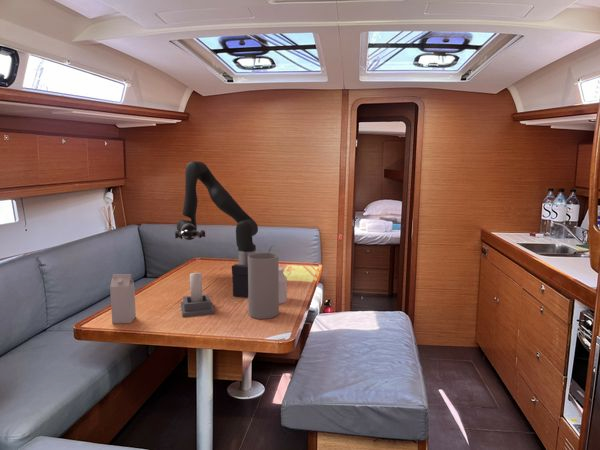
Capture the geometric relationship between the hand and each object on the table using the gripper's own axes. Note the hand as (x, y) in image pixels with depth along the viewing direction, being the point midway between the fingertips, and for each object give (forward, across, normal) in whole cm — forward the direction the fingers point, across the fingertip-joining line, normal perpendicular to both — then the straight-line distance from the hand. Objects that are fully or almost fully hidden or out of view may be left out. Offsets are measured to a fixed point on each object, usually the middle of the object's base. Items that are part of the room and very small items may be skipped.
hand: (191, 236), depth 208 cm
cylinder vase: (+39, +26, +28) cm, 55 cm away
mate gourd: (-34, +44, +28) cm, 62 cm away
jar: (+22, +35, +28) cm, 50 cm away
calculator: (+12, +23, +28) cm, 38 cm away
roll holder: (+24, 0, +28) cm, 37 cm away
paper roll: (+24, 0, +26) cm, 36 cm away
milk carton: (+29, -29, +28) cm, 50 cm away
